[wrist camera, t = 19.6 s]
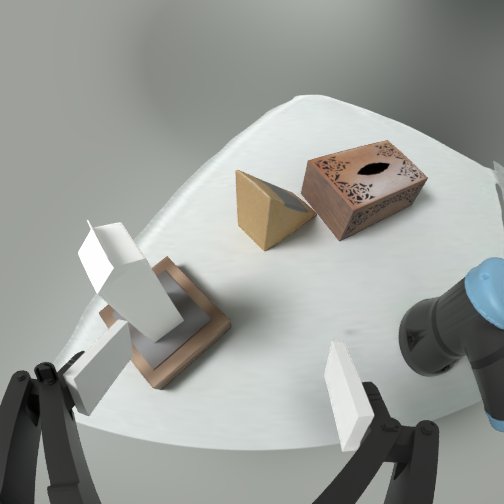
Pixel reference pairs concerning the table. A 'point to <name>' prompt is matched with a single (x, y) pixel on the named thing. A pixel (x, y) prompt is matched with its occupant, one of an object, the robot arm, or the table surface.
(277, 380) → the table surface
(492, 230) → the table surface
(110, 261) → the milk
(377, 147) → the tissue box cover
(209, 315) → the walnut plinth
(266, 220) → the sandwich container
